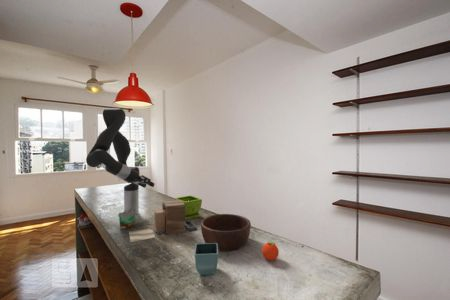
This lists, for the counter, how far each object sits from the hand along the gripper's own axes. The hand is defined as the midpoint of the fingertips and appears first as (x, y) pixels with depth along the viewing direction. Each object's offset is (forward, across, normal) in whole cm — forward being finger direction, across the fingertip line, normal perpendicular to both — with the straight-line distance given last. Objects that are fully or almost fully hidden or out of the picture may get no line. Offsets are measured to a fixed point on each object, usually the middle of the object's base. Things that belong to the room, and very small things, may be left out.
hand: (149, 185), depth 126 cm
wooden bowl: (+28, -43, +21) cm, 55 cm away
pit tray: (+27, -14, +15) cm, 34 cm away
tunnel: (+19, -10, +19) cm, 29 cm away
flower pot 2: (+8, -52, +35) cm, 63 cm away
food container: (+6, +12, +23) cm, 27 cm away
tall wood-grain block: (+18, -10, +20) cm, 28 cm away
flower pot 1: (+35, -1, +7) cm, 36 cm away
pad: (+6, -3, +26) cm, 27 cm away
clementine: (+29, -68, +25) cm, 78 cm away
